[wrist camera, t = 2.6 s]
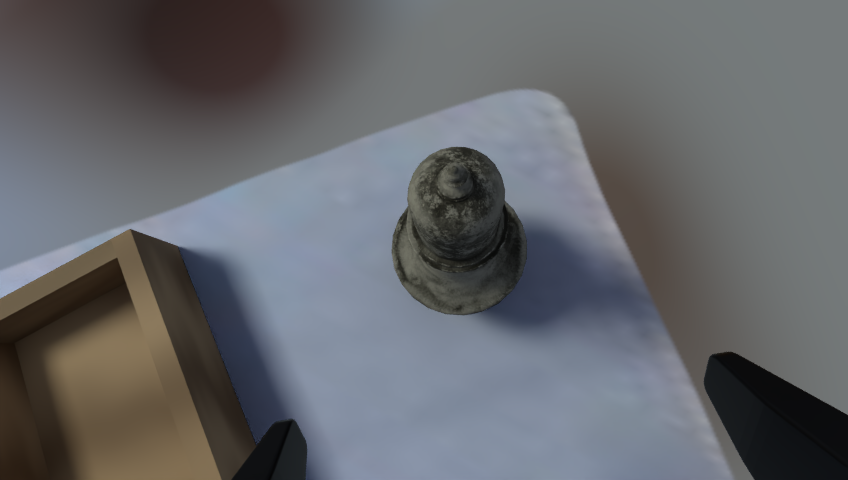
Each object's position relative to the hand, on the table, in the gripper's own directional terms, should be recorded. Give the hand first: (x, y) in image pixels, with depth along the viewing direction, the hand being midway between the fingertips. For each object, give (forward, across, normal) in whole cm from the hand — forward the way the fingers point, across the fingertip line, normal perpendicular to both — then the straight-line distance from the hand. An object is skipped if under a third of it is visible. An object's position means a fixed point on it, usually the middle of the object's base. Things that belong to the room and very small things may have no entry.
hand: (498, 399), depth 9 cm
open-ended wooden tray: (+8, +17, +9) cm, 21 cm away
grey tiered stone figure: (+12, 0, +5) cm, 13 cm away
